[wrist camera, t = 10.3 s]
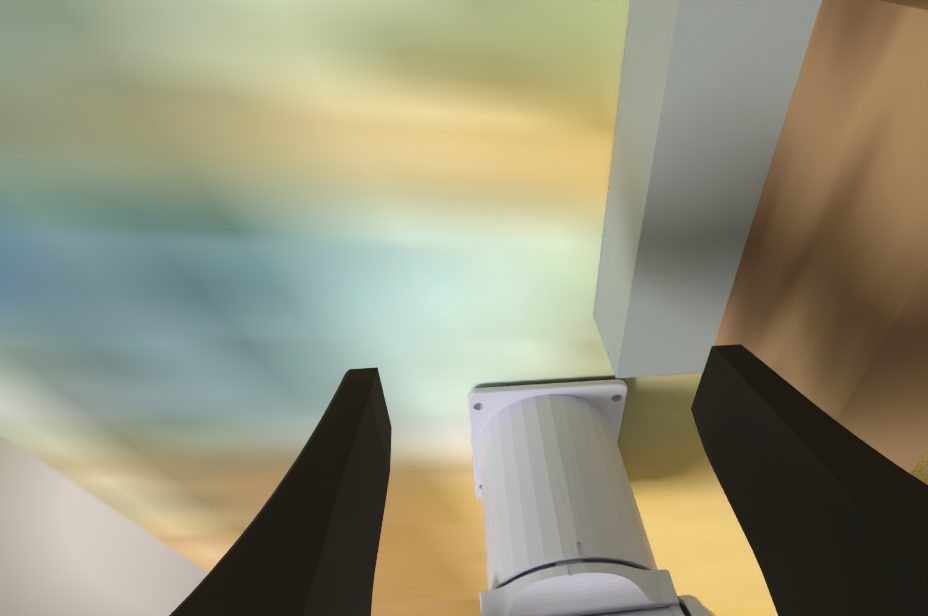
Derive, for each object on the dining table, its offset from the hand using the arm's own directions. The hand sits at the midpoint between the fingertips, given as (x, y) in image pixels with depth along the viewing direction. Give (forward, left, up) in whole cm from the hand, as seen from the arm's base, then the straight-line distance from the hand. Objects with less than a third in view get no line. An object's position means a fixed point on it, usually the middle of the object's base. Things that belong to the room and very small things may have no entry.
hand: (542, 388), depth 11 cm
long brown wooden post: (0, -9, -6) cm, 11 cm away
